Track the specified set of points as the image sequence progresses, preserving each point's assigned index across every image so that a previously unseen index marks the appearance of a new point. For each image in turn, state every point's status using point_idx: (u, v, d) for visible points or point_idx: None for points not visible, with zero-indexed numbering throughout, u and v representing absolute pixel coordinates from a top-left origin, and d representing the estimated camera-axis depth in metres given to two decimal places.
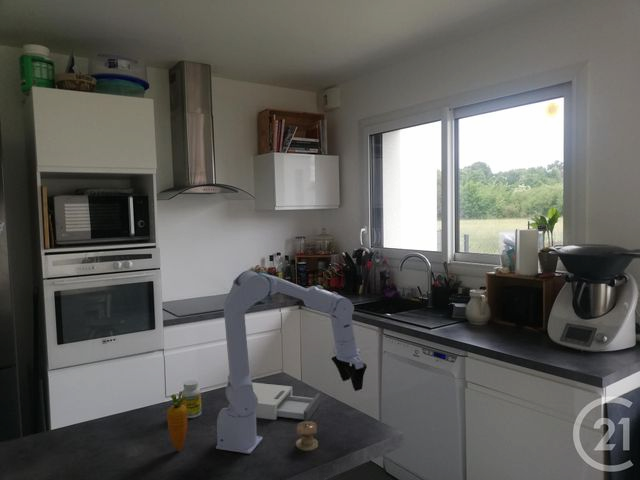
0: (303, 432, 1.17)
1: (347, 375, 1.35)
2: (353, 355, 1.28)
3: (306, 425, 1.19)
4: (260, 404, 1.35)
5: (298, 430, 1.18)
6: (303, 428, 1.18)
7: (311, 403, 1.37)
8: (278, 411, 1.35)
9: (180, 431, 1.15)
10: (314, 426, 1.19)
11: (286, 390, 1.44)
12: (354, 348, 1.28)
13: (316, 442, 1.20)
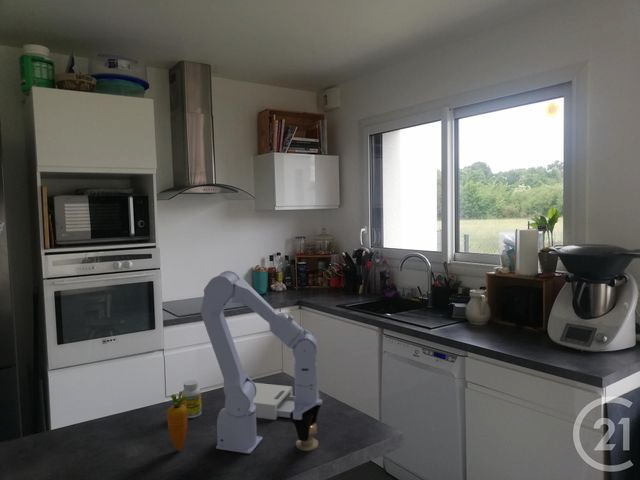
0: None
1: None
2: (305, 404, 1.16)
3: None
4: (260, 404, 1.35)
5: None
6: None
7: None
8: (278, 411, 1.35)
9: (180, 431, 1.15)
10: (314, 426, 1.19)
11: (286, 390, 1.44)
12: (308, 397, 1.16)
13: (316, 442, 1.20)
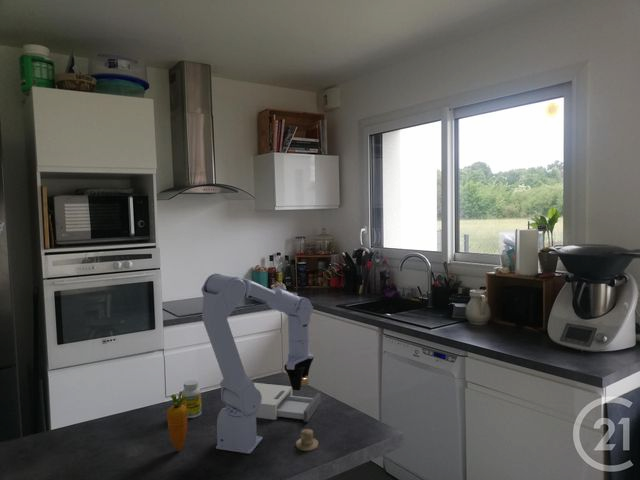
0: None
1: None
2: (298, 357, 1.30)
3: None
4: None
5: None
6: None
7: (311, 403, 1.37)
8: (278, 411, 1.35)
9: (180, 431, 1.15)
10: (306, 378, 1.33)
11: (286, 390, 1.44)
12: (300, 351, 1.30)
13: (316, 442, 1.20)
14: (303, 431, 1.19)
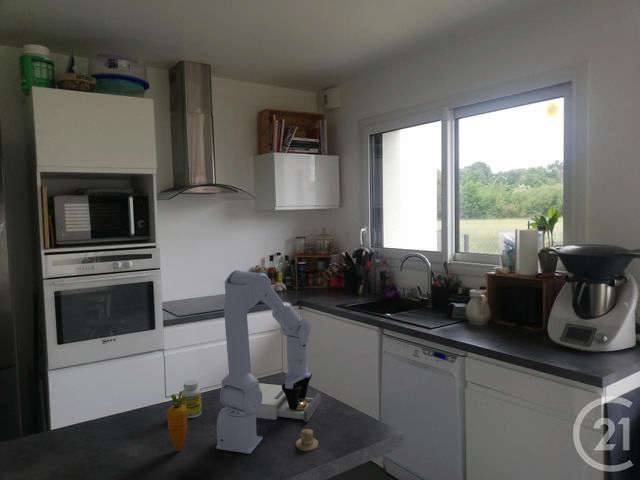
0: None
1: (303, 394, 1.42)
2: (296, 376, 1.35)
3: None
4: None
5: None
6: None
7: (311, 403, 1.37)
8: (278, 411, 1.35)
9: (180, 431, 1.15)
10: (304, 403, 1.38)
11: None
12: (298, 370, 1.35)
13: (316, 442, 1.20)
14: (303, 431, 1.19)
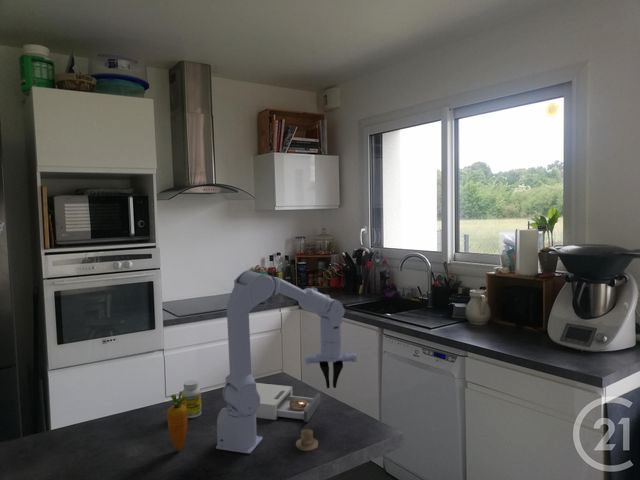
0: (295, 407, 1.37)
1: (333, 382, 1.35)
2: (321, 356, 1.34)
3: (297, 402, 1.39)
4: (260, 404, 1.35)
5: (290, 406, 1.38)
6: (295, 404, 1.38)
7: (311, 403, 1.37)
8: (278, 411, 1.35)
9: (180, 431, 1.15)
10: (304, 402, 1.38)
11: (286, 390, 1.44)
12: (322, 351, 1.33)
13: (316, 442, 1.20)
14: (303, 431, 1.19)
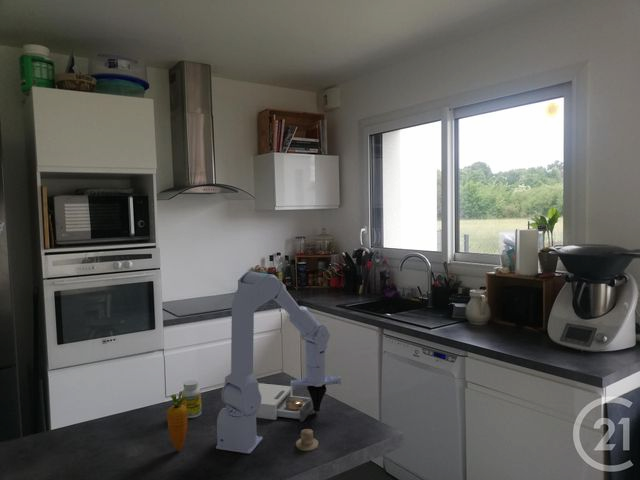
0: (291, 407, 1.37)
1: None
2: (307, 381, 1.35)
3: (293, 401, 1.39)
4: (260, 404, 1.35)
5: (287, 406, 1.38)
6: (291, 403, 1.38)
7: (308, 402, 1.37)
8: None
9: (180, 431, 1.15)
10: (300, 402, 1.39)
11: (286, 390, 1.44)
12: (308, 375, 1.35)
13: (316, 442, 1.20)
14: (303, 431, 1.19)
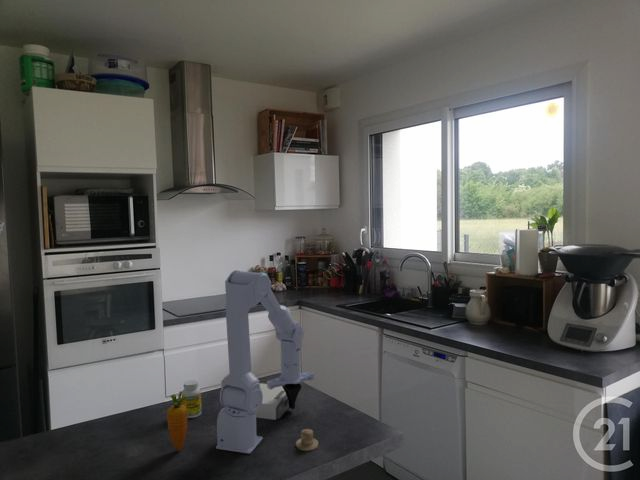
0: None
1: (291, 404, 1.39)
2: (283, 379, 1.37)
3: None
4: None
5: None
6: None
7: (285, 400, 1.39)
8: None
9: (180, 431, 1.15)
10: None
11: None
12: (285, 374, 1.36)
13: (316, 442, 1.20)
14: (303, 431, 1.19)
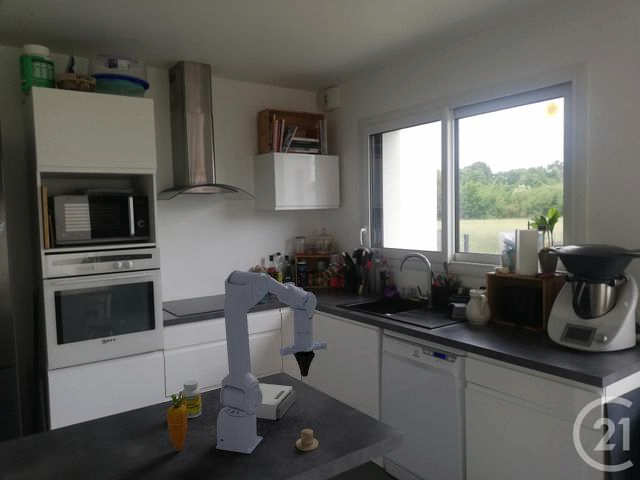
0: None
1: None
2: (296, 347, 1.39)
3: None
4: None
5: None
6: None
7: (285, 400, 1.39)
8: None
9: (180, 431, 1.15)
10: None
11: (286, 390, 1.44)
12: (297, 342, 1.39)
13: (316, 442, 1.20)
14: (303, 431, 1.19)
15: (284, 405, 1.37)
